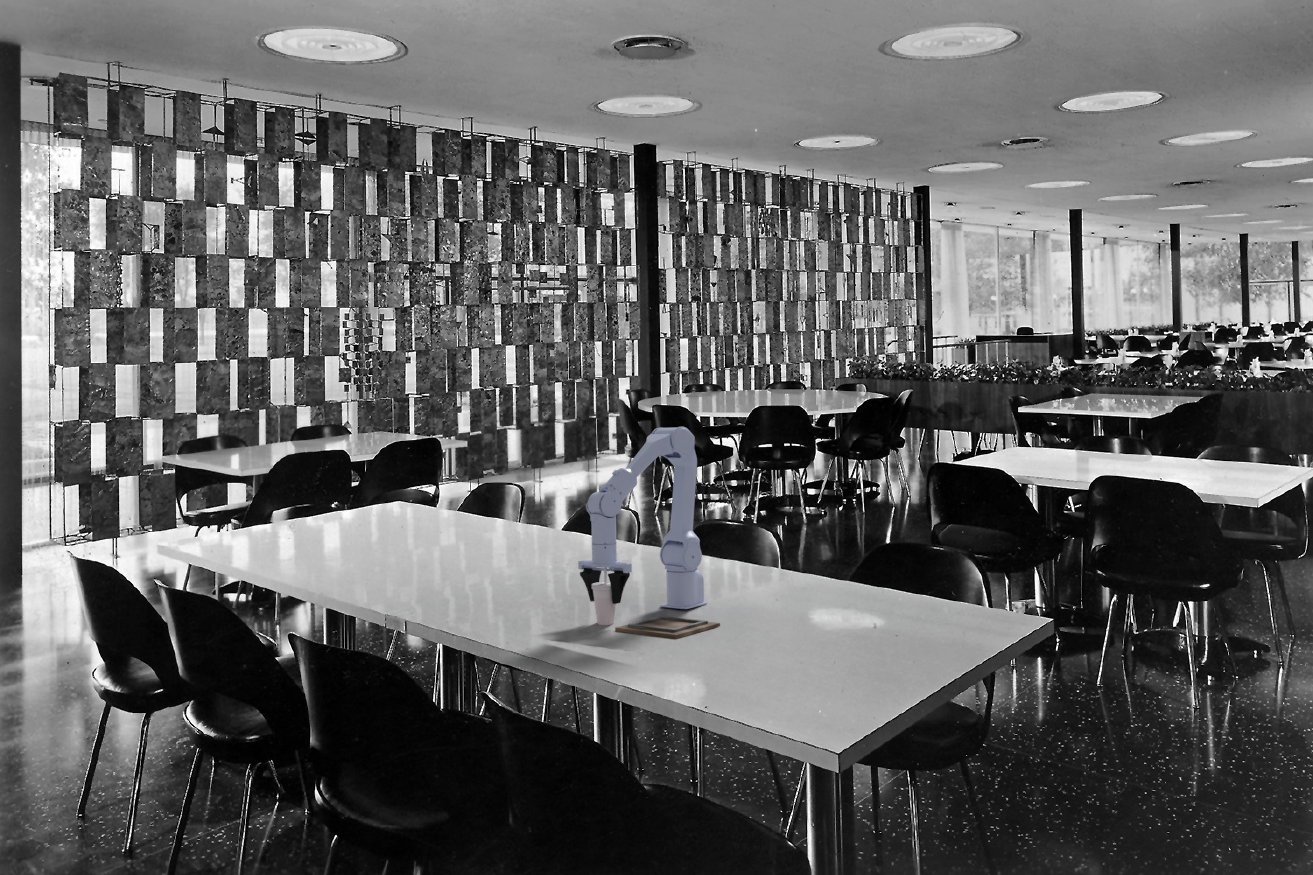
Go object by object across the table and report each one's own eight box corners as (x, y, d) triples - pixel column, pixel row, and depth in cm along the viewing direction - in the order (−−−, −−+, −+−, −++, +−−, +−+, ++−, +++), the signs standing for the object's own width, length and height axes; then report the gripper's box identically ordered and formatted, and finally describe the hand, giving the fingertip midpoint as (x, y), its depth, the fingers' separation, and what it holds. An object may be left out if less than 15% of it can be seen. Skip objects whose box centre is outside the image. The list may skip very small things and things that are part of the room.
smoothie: (595, 628, 240) (594, 567, 240) (589, 623, 246) (588, 564, 246) (622, 626, 242) (621, 566, 242) (616, 622, 248) (615, 562, 248)
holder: (660, 619, 250) (660, 613, 250) (720, 626, 240) (720, 620, 240) (615, 631, 236) (615, 624, 236) (676, 638, 226) (676, 632, 226)
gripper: (569, 543, 245) (570, 601, 245) (617, 546, 236) (618, 606, 236) (588, 540, 251) (589, 597, 251) (636, 543, 242) (637, 602, 242)
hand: (605, 602), depth 244 cm, fingers closed on smoothie, 6 cm apart
